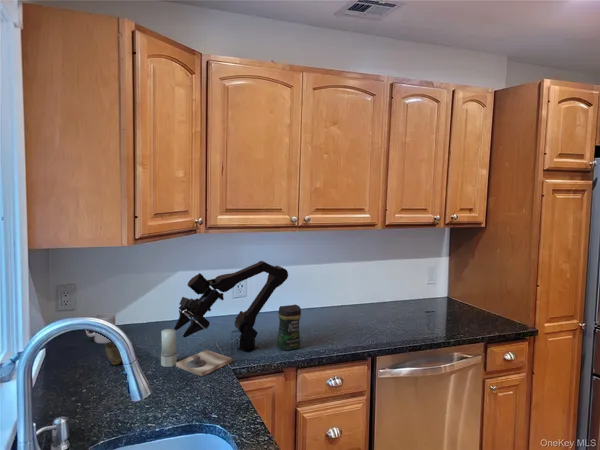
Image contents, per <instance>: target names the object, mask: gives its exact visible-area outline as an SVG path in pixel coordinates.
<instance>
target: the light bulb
mask: <svg viewBox="0 0 600 450" xmlns="http://www.w3.org/2000/svg"><path fill="white" fill-rule="evenodd" d="M160 332H161V352H160V366H161V367H165V368H172V367H174V366H176V362H178V361H177V359H178V357H177V356H178V350H177V330H175V329H174V328H167V329H166V328H165V329H163V330H161V331H160Z"/></svg>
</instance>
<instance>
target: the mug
mask: <svg viewBox="0 0 600 450" xmlns="http://www.w3.org/2000/svg"><path fill="white" fill-rule="evenodd" d="M94 317H96V318H100V319H103V320H106V321H108V322H111V323H113V324H115V325H116V314H115V313H114V312H113V313H112V312H101V313H98V314H95V315H94ZM85 334H86V336H87V337H88V338H94V339H93V340H94V342H95V343H96V344H106V343H108V342H109V343H112V342H111V341H110V340H109V339H107V338H106V337H104V336H102V335H100V334H98V333H95V332H94V331H93V332H92V333H90V331H89V330H88V331H87V330H86V329H85Z"/></svg>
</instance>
